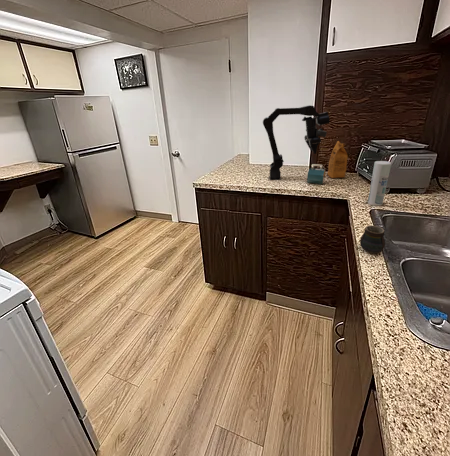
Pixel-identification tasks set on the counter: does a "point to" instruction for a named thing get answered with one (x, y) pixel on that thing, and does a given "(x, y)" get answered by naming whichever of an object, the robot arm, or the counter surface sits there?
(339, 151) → the coffee package
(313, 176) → the mug
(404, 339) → the counter surface
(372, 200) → the spray can
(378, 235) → the mate gourd
